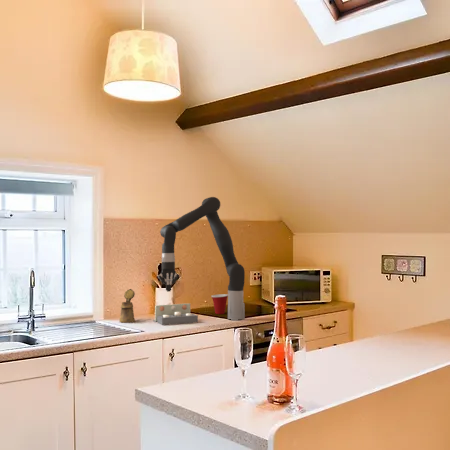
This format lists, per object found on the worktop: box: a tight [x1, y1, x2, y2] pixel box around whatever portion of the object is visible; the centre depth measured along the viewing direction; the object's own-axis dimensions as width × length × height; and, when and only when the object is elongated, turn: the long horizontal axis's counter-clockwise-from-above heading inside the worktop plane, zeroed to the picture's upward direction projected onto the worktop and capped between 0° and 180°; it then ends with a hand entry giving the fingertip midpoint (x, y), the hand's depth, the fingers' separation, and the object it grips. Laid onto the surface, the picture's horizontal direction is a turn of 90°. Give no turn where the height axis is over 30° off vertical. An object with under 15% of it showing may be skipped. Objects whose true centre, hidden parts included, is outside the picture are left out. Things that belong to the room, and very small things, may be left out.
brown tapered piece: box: [119, 288, 136, 324], centre depth 329 cm, size 9×14×18 cm, turn 178°
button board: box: [156, 313, 199, 326], centre depth 324 cm, size 22×8×4 cm, turn 116°
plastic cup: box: [211, 293, 228, 315], centre depth 360 cm, size 11×11×12 cm
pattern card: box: [152, 303, 191, 323], centre depth 332 cm, size 22×4×10 cm, turn 116°
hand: (168, 291), depth 322 cm, fingers closed
